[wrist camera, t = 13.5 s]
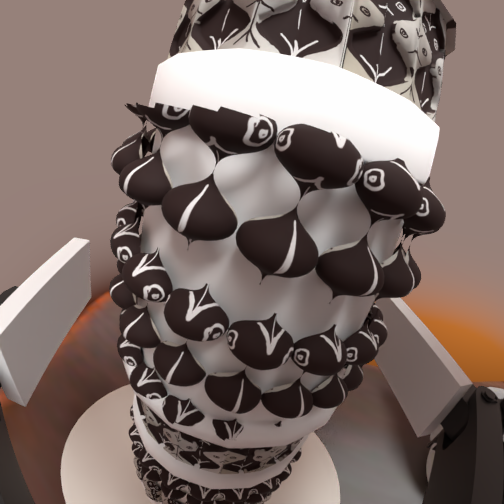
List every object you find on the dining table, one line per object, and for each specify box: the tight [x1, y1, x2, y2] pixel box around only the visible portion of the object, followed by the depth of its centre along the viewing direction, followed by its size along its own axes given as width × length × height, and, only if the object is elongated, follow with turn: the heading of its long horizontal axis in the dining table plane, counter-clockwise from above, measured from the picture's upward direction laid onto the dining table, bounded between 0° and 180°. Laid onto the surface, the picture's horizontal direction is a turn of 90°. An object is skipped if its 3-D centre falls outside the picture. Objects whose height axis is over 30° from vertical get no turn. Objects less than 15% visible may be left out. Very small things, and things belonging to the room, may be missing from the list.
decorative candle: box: [109, 0, 456, 504], centre depth 10 cm, size 9×9×25 cm
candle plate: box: [61, 384, 340, 504], centre depth 15 cm, size 19×19×1 cm
